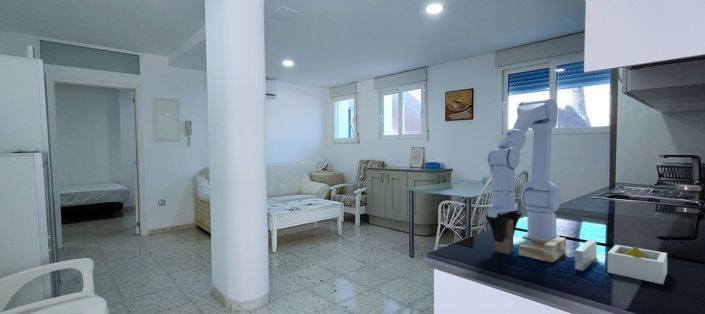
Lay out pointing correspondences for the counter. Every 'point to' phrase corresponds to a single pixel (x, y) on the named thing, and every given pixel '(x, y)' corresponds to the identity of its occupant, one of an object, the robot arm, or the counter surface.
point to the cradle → (544, 249)
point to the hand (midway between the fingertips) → (504, 239)
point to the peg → (506, 240)
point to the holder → (638, 264)
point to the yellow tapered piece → (634, 253)
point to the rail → (585, 255)
